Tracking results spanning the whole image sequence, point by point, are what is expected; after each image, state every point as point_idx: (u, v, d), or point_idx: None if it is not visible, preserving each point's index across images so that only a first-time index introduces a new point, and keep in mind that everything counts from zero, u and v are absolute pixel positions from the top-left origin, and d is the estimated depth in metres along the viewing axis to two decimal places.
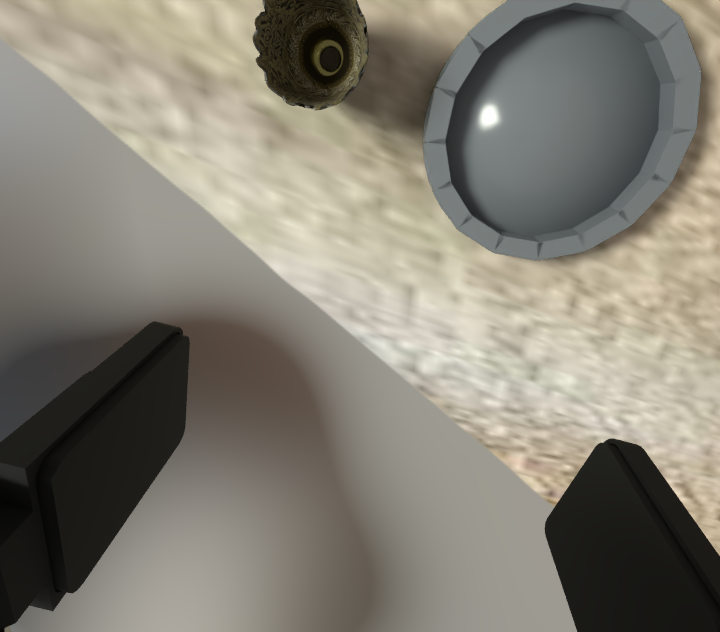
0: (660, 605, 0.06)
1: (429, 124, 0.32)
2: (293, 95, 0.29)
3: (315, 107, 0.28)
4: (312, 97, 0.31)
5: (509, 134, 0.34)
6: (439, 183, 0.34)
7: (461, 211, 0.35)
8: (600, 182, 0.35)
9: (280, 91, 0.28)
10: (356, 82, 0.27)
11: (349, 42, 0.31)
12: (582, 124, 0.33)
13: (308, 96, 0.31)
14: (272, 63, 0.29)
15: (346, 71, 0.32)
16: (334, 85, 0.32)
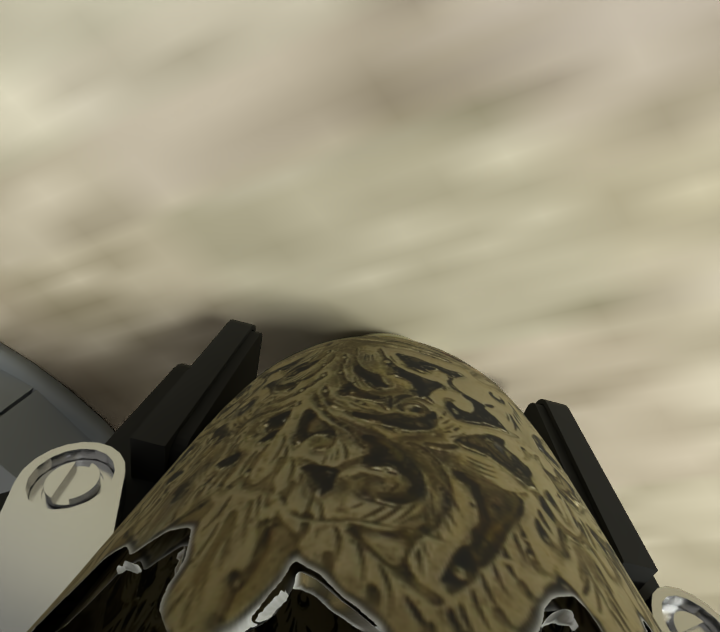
0: None
1: (9, 475, 0.10)
2: None
3: None
4: None
5: None
6: None
7: None
8: None
9: None
10: None
11: None
12: None
13: None
14: None
15: None
16: None
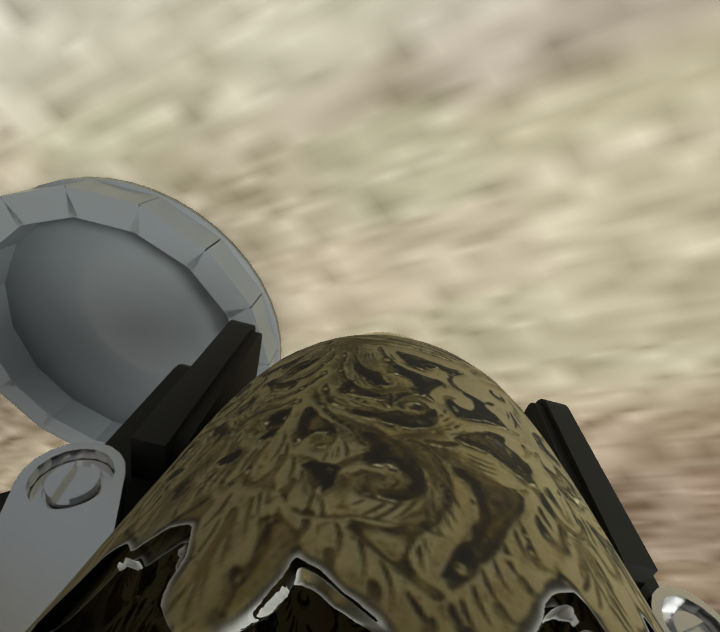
0: None
1: (220, 270, 0.22)
2: None
3: (54, 629, 0.03)
4: None
5: (157, 311, 0.26)
6: (143, 220, 0.21)
7: (87, 211, 0.21)
8: (46, 337, 0.28)
9: None
10: None
11: None
12: (120, 362, 0.28)
13: None
14: None
15: None
16: None
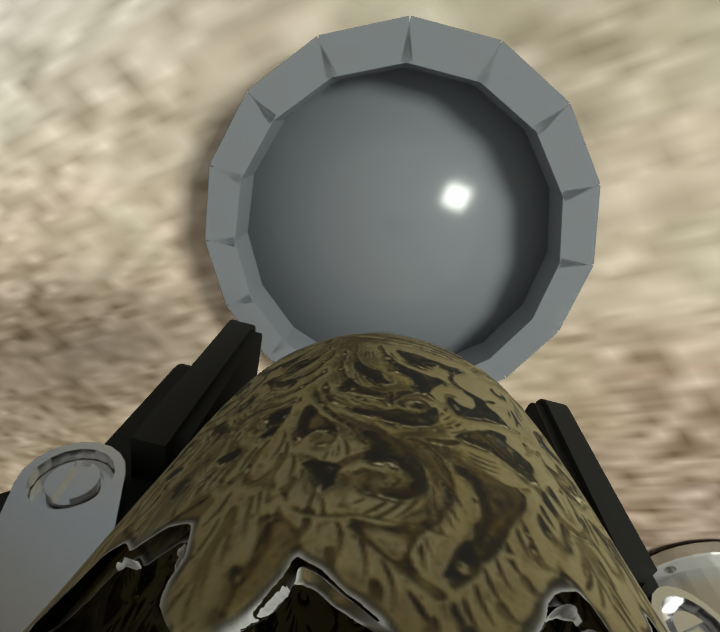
0: None
1: (577, 133, 0.18)
2: None
3: None
4: None
5: (438, 207, 0.22)
6: (499, 64, 0.17)
7: (427, 53, 0.17)
8: (286, 246, 0.24)
9: None
10: None
11: None
12: (368, 278, 0.24)
13: None
14: None
15: None
16: None
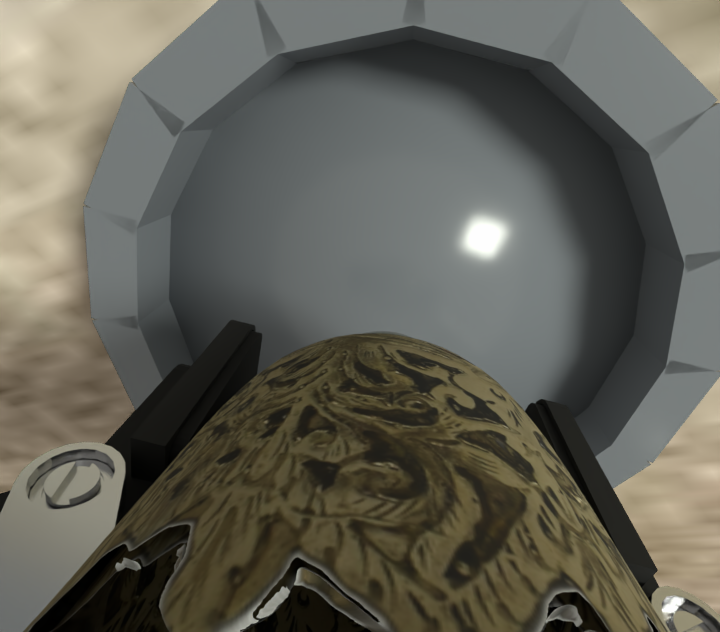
0: None
1: None
2: None
3: (51, 630, 0.03)
4: None
5: (462, 268, 0.14)
6: (590, 27, 0.09)
7: (454, 7, 0.09)
8: (228, 319, 0.16)
9: None
10: None
11: None
12: None
13: None
14: None
15: None
16: None
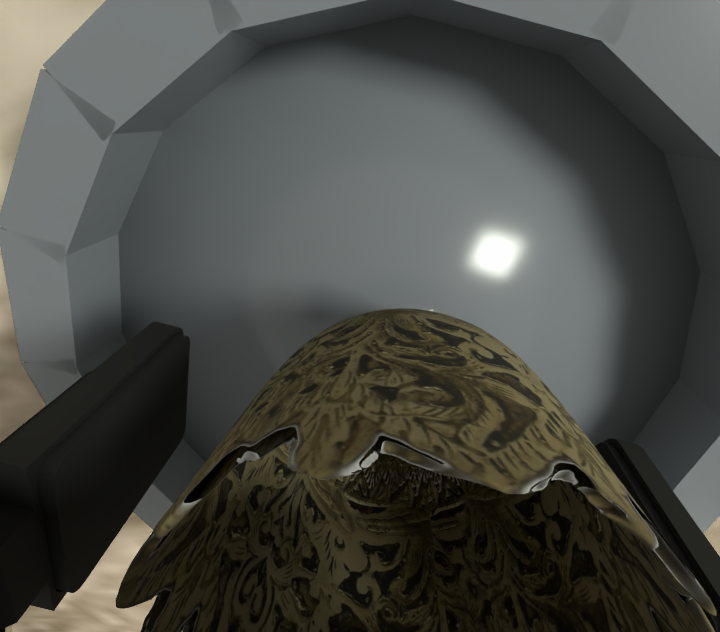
0: None
1: None
2: None
3: (196, 502, 0.05)
4: None
5: (473, 299, 0.11)
6: None
7: None
8: (192, 356, 0.13)
9: None
10: None
11: None
12: None
13: None
14: None
15: None
16: None
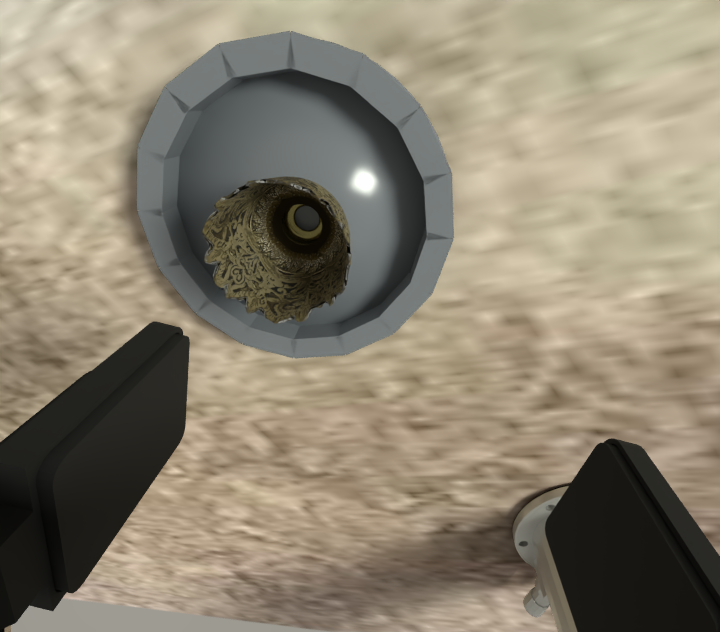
0: (660, 605, 0.06)
1: (429, 130, 0.23)
2: None
3: (224, 200, 0.20)
4: (272, 184, 0.23)
5: (334, 188, 0.26)
6: (363, 72, 0.22)
7: (306, 61, 0.22)
8: None
9: None
10: (207, 258, 0.21)
11: (289, 253, 0.26)
12: None
13: None
14: None
15: (272, 228, 0.26)
16: (271, 207, 0.25)
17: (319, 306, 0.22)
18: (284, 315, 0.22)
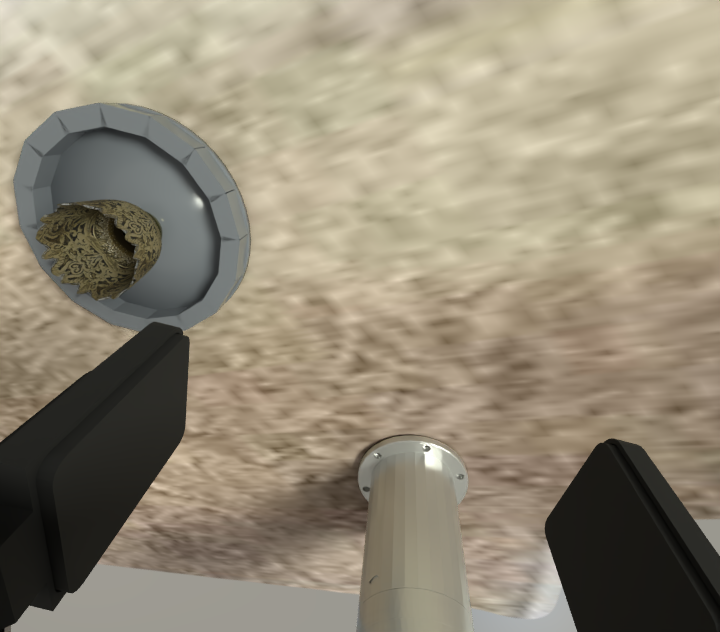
0: (660, 605, 0.06)
1: (204, 164, 0.32)
2: None
3: (47, 216, 0.30)
4: None
5: (160, 206, 0.36)
6: (152, 127, 0.32)
7: (114, 121, 0.32)
8: None
9: None
10: (44, 256, 0.31)
11: (129, 253, 0.36)
12: None
13: None
14: None
15: (114, 235, 0.36)
16: (110, 220, 0.35)
17: (128, 288, 0.32)
18: (105, 295, 0.32)
